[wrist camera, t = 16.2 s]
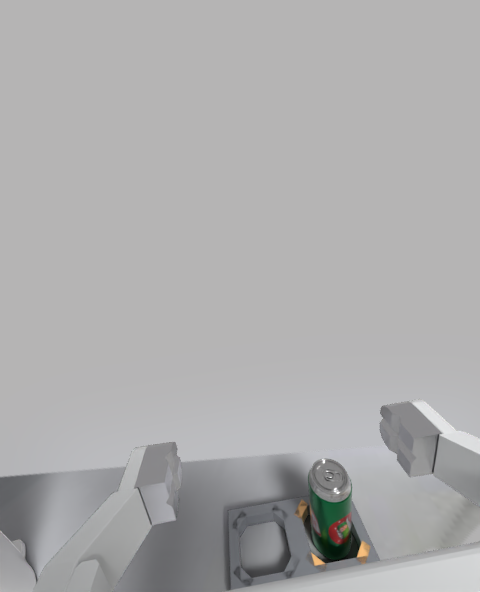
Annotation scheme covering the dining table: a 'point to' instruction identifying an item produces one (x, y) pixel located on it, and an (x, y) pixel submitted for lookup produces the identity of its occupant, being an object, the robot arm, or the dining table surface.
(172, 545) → the dining table surface
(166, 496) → the robot arm
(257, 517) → the socket board
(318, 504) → the soda can
